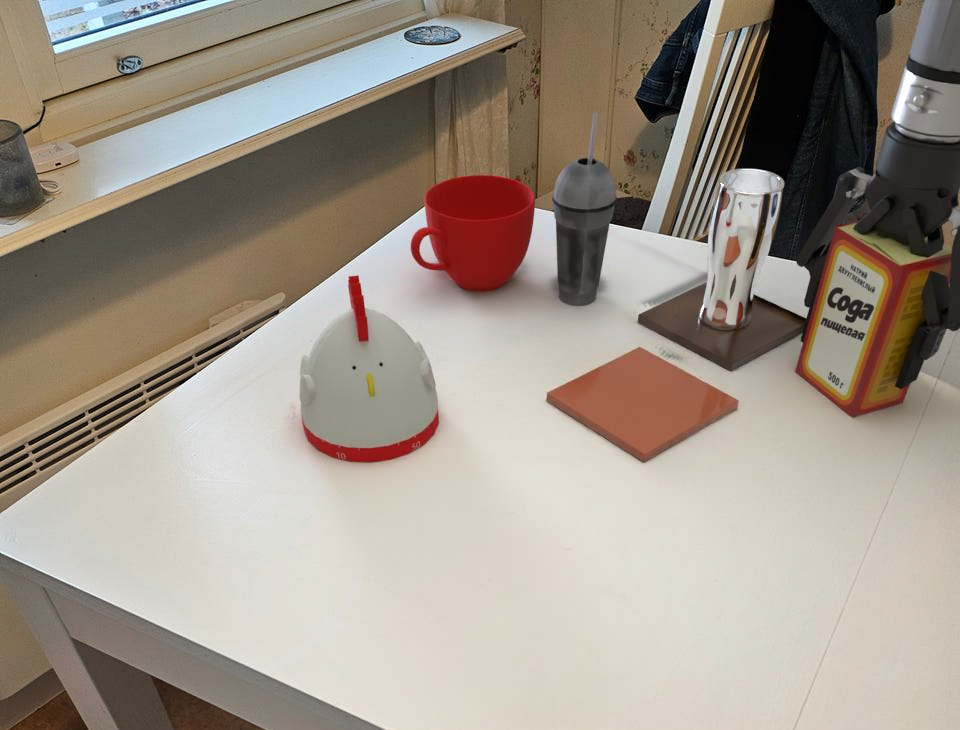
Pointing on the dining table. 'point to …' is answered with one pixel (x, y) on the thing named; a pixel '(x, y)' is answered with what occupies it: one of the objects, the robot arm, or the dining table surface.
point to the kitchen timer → (367, 387)
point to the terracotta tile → (642, 403)
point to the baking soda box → (865, 318)
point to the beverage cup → (582, 224)
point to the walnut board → (722, 345)
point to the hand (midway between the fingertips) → (856, 359)
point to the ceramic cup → (477, 229)
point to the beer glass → (739, 244)
